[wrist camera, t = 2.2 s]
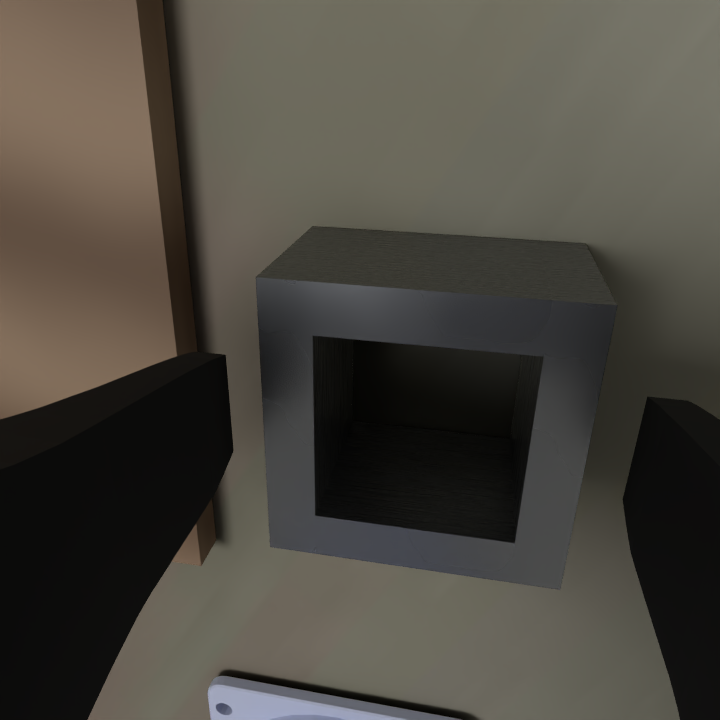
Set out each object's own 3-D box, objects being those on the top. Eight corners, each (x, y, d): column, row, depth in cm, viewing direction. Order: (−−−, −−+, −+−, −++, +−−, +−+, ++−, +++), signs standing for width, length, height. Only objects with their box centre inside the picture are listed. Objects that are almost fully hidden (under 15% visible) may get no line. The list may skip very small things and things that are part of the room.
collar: (545, 476, 15) (560, 590, 11) (315, 449, 15) (270, 547, 12) (585, 243, 12) (617, 305, 9) (312, 226, 13) (255, 276, 10)
